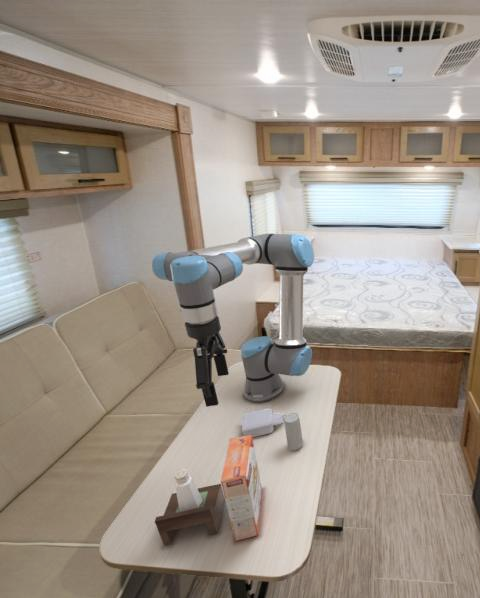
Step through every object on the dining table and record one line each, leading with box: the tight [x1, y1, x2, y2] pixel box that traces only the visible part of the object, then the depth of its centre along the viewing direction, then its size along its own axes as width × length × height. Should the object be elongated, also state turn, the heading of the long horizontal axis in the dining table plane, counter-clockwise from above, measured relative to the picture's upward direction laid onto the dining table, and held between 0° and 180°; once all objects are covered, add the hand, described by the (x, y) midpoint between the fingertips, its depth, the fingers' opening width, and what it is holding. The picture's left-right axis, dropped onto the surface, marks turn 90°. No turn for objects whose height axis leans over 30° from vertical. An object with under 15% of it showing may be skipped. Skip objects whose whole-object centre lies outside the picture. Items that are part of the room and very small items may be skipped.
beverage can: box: [283, 412, 304, 451], centre depth 112 cm, size 5×5×12 cm
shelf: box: [154, 483, 226, 547], centre depth 89 cm, size 10×12×9 cm
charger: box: [241, 407, 288, 438], centre depth 122 cm, size 5×9×15 cm
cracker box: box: [220, 435, 263, 542], centre depth 88 cm, size 14×6×21 cm, turn 17°
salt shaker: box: [174, 468, 203, 512], centre depth 86 cm, size 5×5×11 cm
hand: (218, 389), depth 93 cm, fingers open, 13 cm apart
